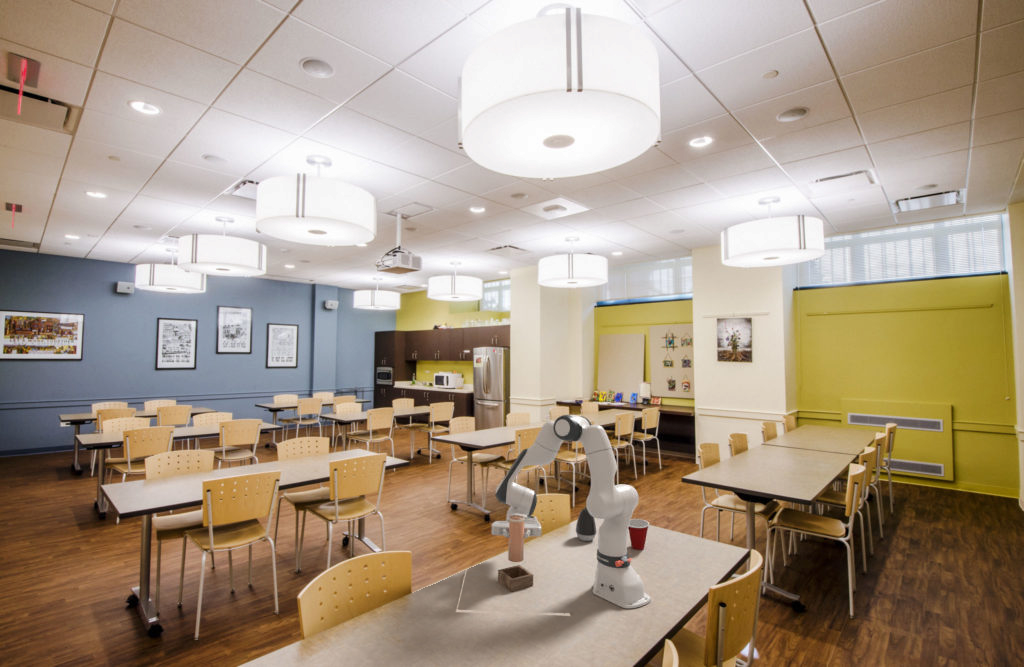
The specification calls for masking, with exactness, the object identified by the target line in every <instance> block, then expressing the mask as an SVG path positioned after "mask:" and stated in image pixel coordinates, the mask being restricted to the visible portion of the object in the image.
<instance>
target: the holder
mask: <svg viewBox="0 0 1024 667" xmlns="http://www.w3.org/2000/svg"><path fill="white" fill-rule="evenodd" d="M497 583H500V584H501V585H502V586H503V587H504V588H506V589H507V590H508V591H509V592H510V593H512V592H516V591H519V590H523V589H528V588H530V587H533V586H534V574H533V573H531V572H530V571H529V570H527V569H526V568H524V567H523V566H522V565H520V564H518V565H513V566H510V567H505V568H500V569H498V570H497Z"/></svg>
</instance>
